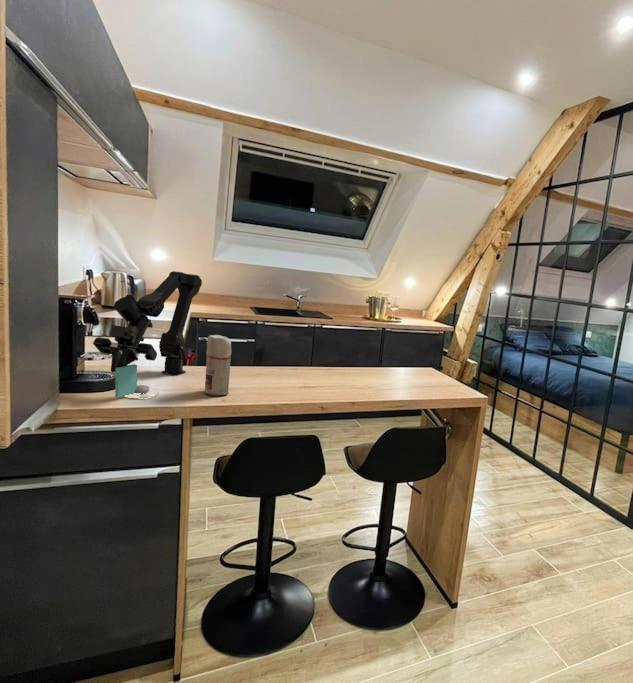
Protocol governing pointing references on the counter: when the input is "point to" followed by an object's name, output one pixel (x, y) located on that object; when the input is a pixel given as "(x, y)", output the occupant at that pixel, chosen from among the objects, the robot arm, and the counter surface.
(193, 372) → the counter surface
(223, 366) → the spray can
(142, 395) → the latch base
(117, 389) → the teal panel
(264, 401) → the counter surface
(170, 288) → the robot arm
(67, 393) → the counter surface
